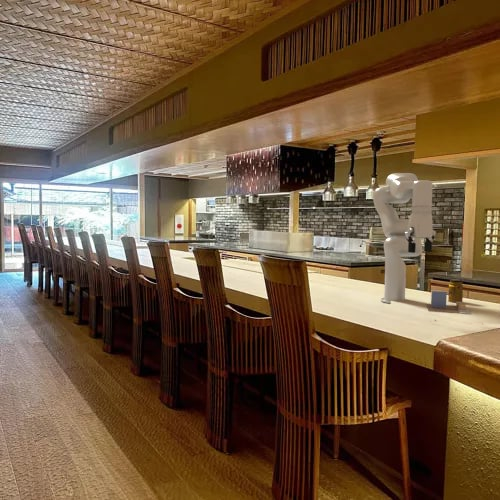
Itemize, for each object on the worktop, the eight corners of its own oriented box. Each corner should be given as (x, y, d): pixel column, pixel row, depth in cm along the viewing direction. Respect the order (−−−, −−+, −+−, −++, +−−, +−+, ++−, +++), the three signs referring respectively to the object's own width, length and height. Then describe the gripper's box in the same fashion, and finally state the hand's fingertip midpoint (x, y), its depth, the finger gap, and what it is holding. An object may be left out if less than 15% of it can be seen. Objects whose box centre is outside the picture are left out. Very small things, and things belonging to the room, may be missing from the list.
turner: (454, 305, 193) (454, 301, 193) (464, 306, 192) (464, 302, 192) (460, 313, 177) (460, 308, 177) (471, 314, 176) (471, 309, 176)
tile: (430, 306, 192) (431, 290, 192) (445, 307, 190) (446, 291, 190) (431, 306, 191) (431, 291, 190) (446, 307, 189) (446, 291, 188)
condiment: (444, 303, 208) (445, 278, 207) (462, 303, 208) (463, 278, 207) (451, 306, 200) (452, 280, 200) (470, 306, 200) (471, 280, 200)
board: (424, 307, 198) (425, 303, 198) (463, 309, 193) (463, 306, 193) (428, 315, 181) (428, 311, 181) (471, 317, 176) (471, 314, 176)
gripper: (428, 210, 186) (426, 250, 188) (399, 210, 178) (397, 252, 179) (443, 210, 180) (441, 252, 181) (414, 210, 171) (412, 253, 173)
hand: (419, 252), depth 180 cm, fingers open, 9 cm apart
